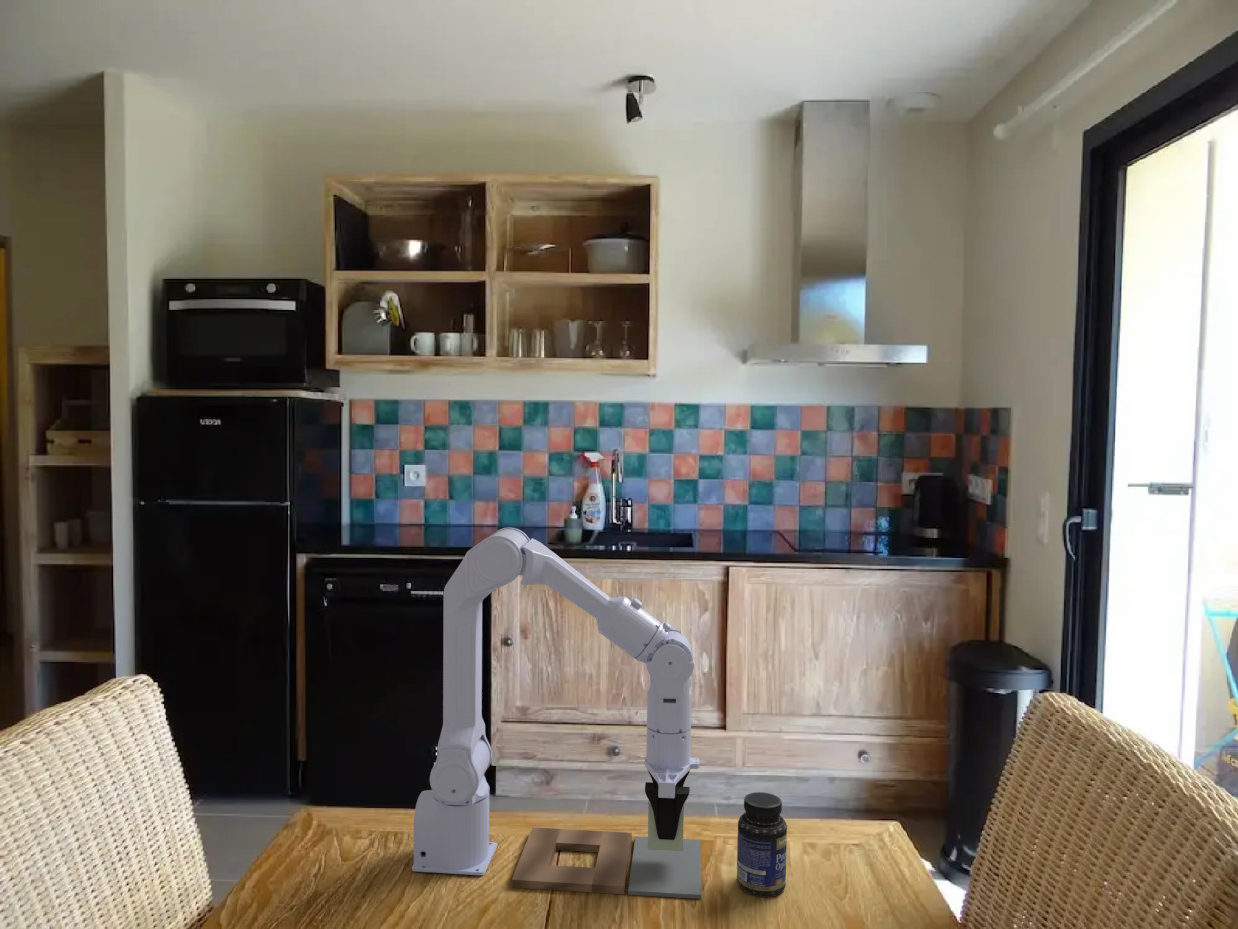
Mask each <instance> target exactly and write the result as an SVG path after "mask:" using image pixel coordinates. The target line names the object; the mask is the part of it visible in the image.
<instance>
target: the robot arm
mask: <svg viewBox="0 0 1238 929" xmlns="http://www.w3.org/2000/svg"><path fill="white" fill-rule="evenodd" d="M519 576H522V578H521V580H520V585H545V586H547V587H548V588H550V589H552V590H553V591H555V592H556V593H557V594H559V595H561V596H562V597H564V598H565V599H567V600H568V601H570V602H571V603H573V604H574V605H575V606H577V607H578V608H580V609H582V611H585V612H586V613H587V614H589V615H591V616H592V617H594V618H595V620H596V621H597V622H596V623H597V630H598V634H600V635H602V636H603V637H605V638H606V639H608V640H609V641H610V642H611V643H613V644H614V645H616V646H617V647H618V648H619V649H621V650H623V652H625V653H627V654H628V655H629V656H630V657H631V658H633V659H634V660H636V661H638V662H641V663H644V664H645V665H646V670H647V672H648V674H649V688H648V690H647V694H646V695H647V698H646V704H647V706H646V750H645V751H646V756H645V758H644V767H645V768H646V769H647V773H649V777H650V778H651V781H652V782H650V781H645V784H644V791H645V792H644V793H645V795H646V798H647V799H648V802H649V801H650V804H651V806H652V809H653V813H654V818H655V824H656V830H657V835H658V838H659V839H664V840H675V837H676V833H677V829H678V823H679V818H680V814H681V810H682V808H683V805H684V806H685V803H686V802H687V800H688V798H689V795H690V789H691V788H690V786H684V784H685V783H686V780H687V778H688V776H689V775H690V772H691V770H692V769H693V770H697V769H699V768H700V759H699V758H698V757H691V749H692V748H691V745H692V744H691V742H692V740H691V739H692V738H691V736H692V734H691V733H692V699H693V698H692V697H693V696H692V691H691V689H690V688H691V686H692V678H691V675H692V674H693V672H694V669H695V663H694V662H693V660H694V658H693V653H692V652H693V651H692V647H691V643H690V641H689V640H688V639H687V637H686V636H685V635H684V634H683V633H682V632H681V630H679V629H677V628H672V625H671V624H670V623H668V621H667V622H666V621H665V622H664V623H662V622H660V621H659V619H657V618H656V617H654V616H652V615H651V614H650V613H649V612H647V611H646V610H644V609H643V608H642V606H643V602H642V601H640V600H639V599H638V598H636V597H633V598H632V600H630V599H629V598H628V597H627V596H617V597H616V596H615V597H612V596H610V595H607V594H606V593H605V592H604V591H603V590H602V589H601V588H599V587H598V586H597V585H595V584H594V583H592V581H590V580H589V579H588V578H586V577H585V576H584V575H583V574H582V573H580V572H579V570H576V569H575V568H574V567H572V565H570V564H569V563H568V562H567V561H565V560H564V559H563V558H561V557H560V556H559V555H557V553H555V552H554V551H552V550H551V549H550V548H548V547H547V546H546V545H544V544H543V543H542V542H541V541H538V540H537V539H535V538H529V537H528V535H527V534H526V533H525V532H524V531H522V530H520V529H519V528H516V527H503V528H500V529H498V530H496V531H495V532H493V533H492V534H490V535H489V536H487V537H485V538H484V539H483V540H481V541H480V542H479V543H477V544H475V545H474V546H473V547H472V548H470V549H469V550H467V552H466V553H465V555H464V558H463V559H462V561H460V564H459V565H458V567H457V568H456V569H455V571H454V573H453V574H452V575H451V576H450V578H449V579H448V581H447V583H446V584H445V585H444V586H445V587H444V590H443V620H442V621H443V622H442V623H443V629H442V630H443V632H442V633H443V639H442V640H443V648H442V649H443V652H442V653H443V657H442V658H443V661H442V663H443V666H442V668H443V669H442V670H443V672H442V673H443V675H442V676H443V677H442V679H443V680H442V681H443V682H442V684H443V686H442V687H443V688H442V689H443V690H442V694H443V695H442V697H443V699H442V706H443V707H442V718H443V719H442V728H441V732H440V734H439V735H440V736H439V739H438V743H437V748H436V749H437V756H436V760H435V763H434V765H433V767H432V768H431V771H430V775H429V784H430V787H431V789H429V790H422V791H421V792H420V794H419V795H418V798H417V801H416V804H415V809H414V816H413V817H414V818H413V865H412V866H411V871H412V872H420V873H435V874H436V873H437V874H450V875H452V874H454V875H466V876H467V875H470V876H484V875H485V873H486V872H487V869H488V868H489V866H490V863H491V861H492V859H493V857H494V854H495V853H496V850H497V848H498V843H497V842H494V841H490V785H489V783H488V782H487V778H486V775H485V773H486V771H487V770H488V769H489V767H490V765H491V762H492V759H493V751H492V750H493V749H492V747H491V744H490V742H489V740H488V738H487V736H486V735H487V734H486V724H485V721H484V718H483V714H482V713H483V712H482V710H483V709H482V708H483V705H482V704H483V703H482V702H483V701H482V700H483V696H482V695H483V692H482V690H483V601H484V599H486V598H487V597H488V596H489V595H490V594H491V593H492V592H493V591H494V590H497V589H499V588H502V587H504V586H506V585H508V584H510V583H512V582H513V581H515V580H516V579H517V578H518V577H519Z"/></svg>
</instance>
